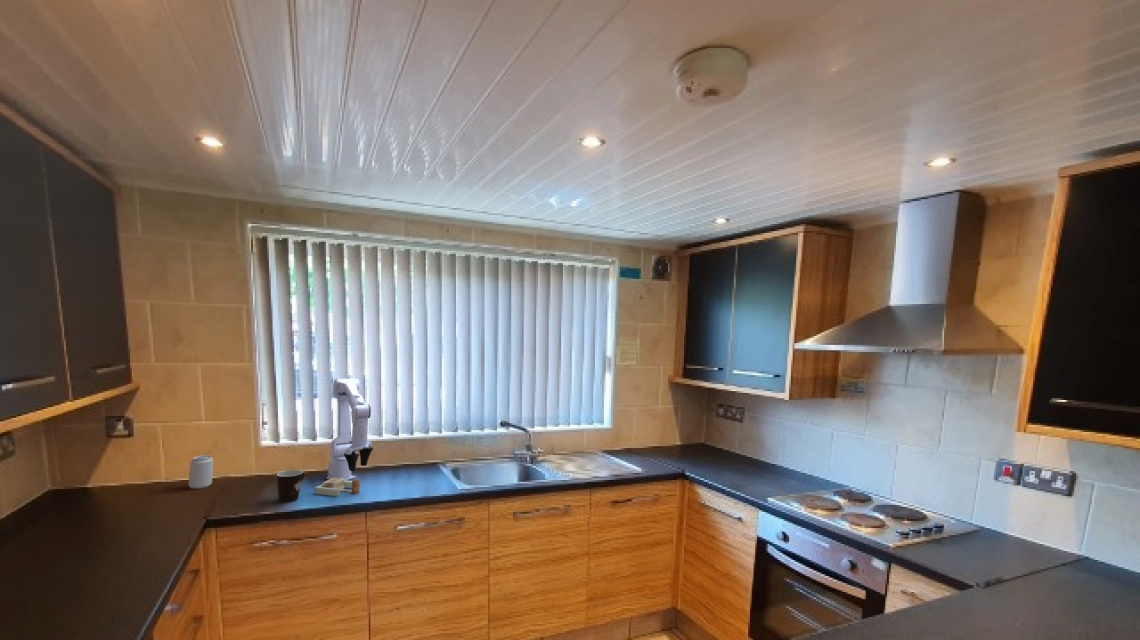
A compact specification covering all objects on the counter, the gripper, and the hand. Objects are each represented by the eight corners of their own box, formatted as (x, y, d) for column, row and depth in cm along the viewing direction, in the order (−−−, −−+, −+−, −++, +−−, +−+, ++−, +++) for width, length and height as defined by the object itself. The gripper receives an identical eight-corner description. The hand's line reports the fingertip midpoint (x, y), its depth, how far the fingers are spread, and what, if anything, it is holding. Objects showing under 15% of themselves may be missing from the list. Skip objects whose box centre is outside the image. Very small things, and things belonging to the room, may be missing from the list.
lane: (314, 493, 185) (315, 487, 186) (333, 485, 196) (333, 479, 196) (337, 496, 184) (338, 489, 184) (355, 487, 194) (355, 481, 195)
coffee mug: (282, 505, 172) (284, 478, 173) (270, 500, 177) (272, 473, 177) (313, 496, 182) (315, 471, 183) (301, 492, 187) (303, 467, 187)
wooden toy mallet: (322, 492, 187) (323, 479, 187) (333, 487, 194) (333, 475, 194) (353, 495, 185) (354, 483, 185) (363, 490, 191) (364, 478, 191)
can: (184, 487, 187) (186, 457, 187) (204, 482, 194) (206, 453, 194) (195, 490, 184) (197, 460, 184) (216, 485, 191) (218, 455, 191)
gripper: (357, 439, 182) (355, 474, 181) (378, 431, 196) (377, 464, 195) (341, 437, 183) (339, 472, 182) (363, 430, 197) (361, 462, 197)
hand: (357, 468), depth 189 cm, fingers open, 7 cm apart
